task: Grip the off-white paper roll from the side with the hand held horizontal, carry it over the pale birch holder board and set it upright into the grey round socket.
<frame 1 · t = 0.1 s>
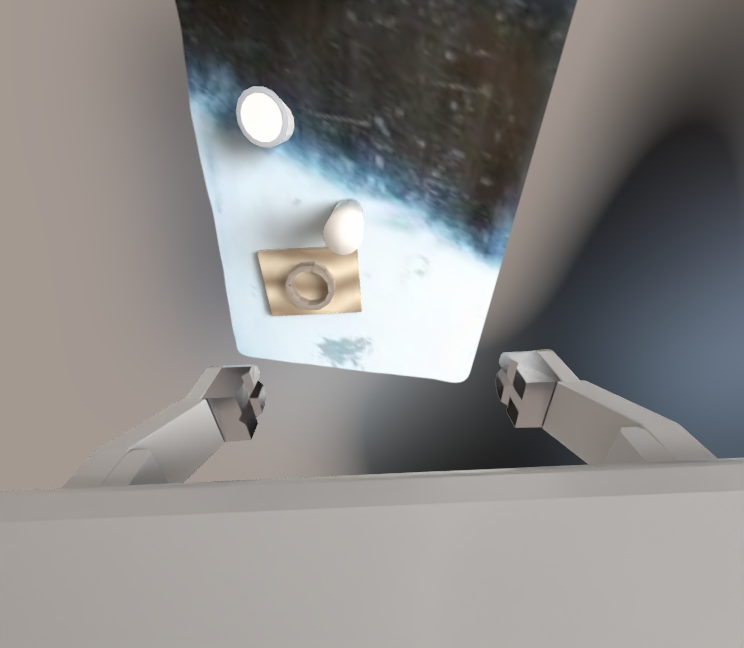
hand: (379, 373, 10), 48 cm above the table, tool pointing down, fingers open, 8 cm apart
roll holder: (313, 280, 60), on the table
paper roll: (348, 214, 54), on the table
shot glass: (276, 122, 47), on the table
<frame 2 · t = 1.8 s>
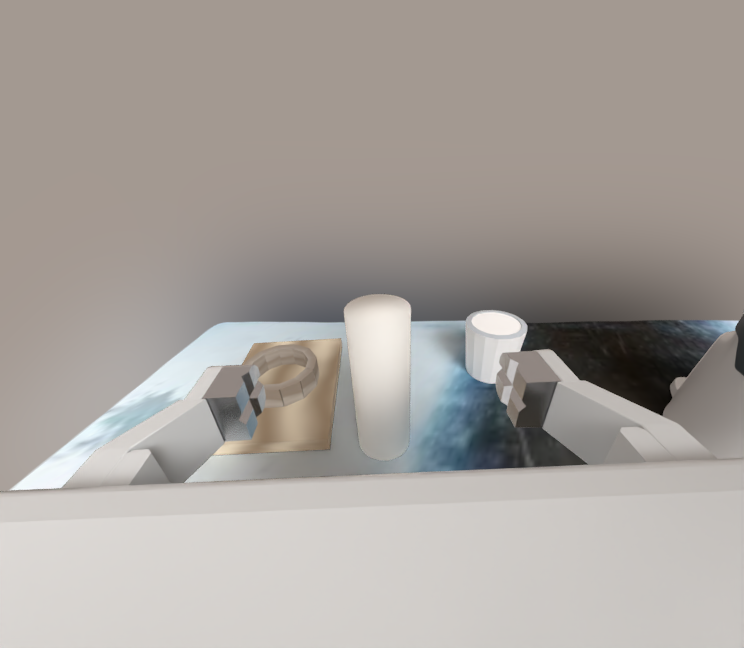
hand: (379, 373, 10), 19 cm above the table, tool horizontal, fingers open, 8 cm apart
roll holder: (285, 390, 39), on the table
paper roll: (384, 438, 31), on the table
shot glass: (487, 370, 40), on the table
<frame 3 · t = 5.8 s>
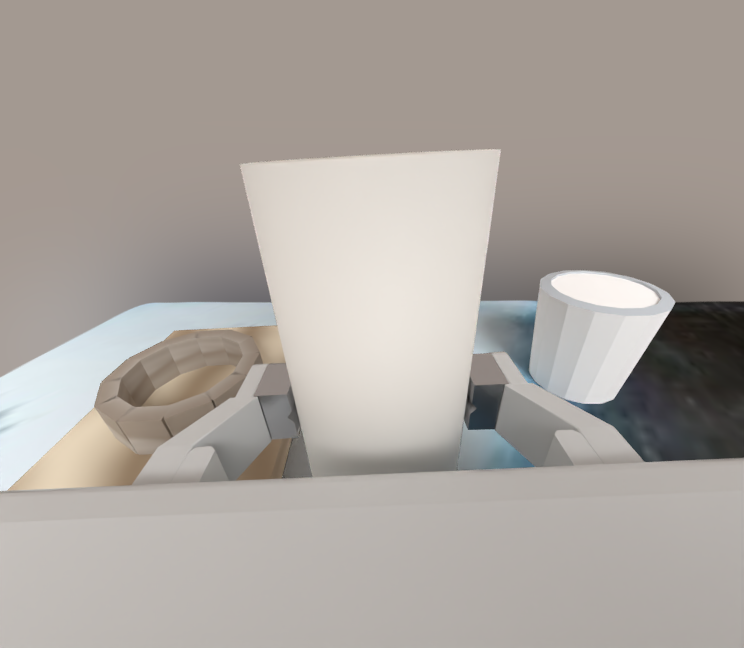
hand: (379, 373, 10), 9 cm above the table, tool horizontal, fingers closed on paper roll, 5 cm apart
roll holder: (205, 413, 21), on the table
paper roll: (387, 533, 14), on the table, touching gripper
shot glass: (570, 378, 22), on the table
when the fingers open (11 cm above the table, at t = 10.3 s): paper roll stays where it is, resting on roll holder.
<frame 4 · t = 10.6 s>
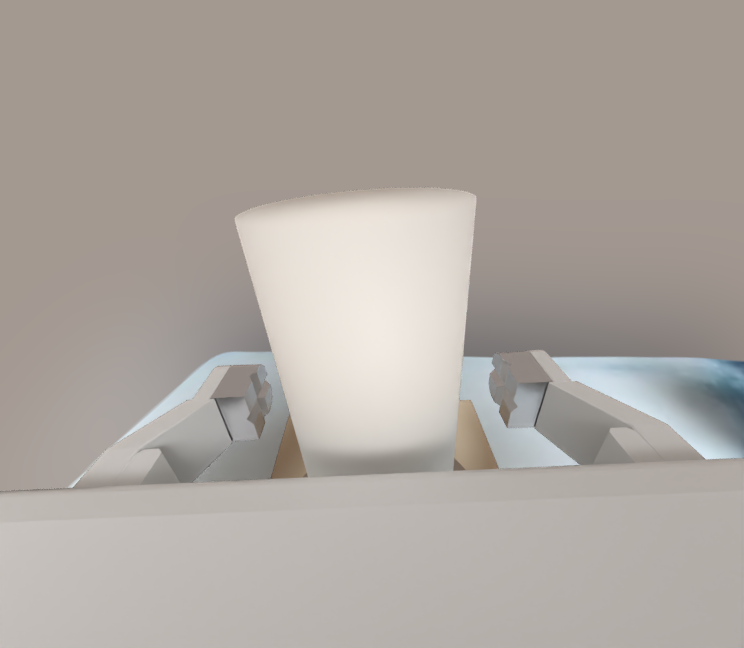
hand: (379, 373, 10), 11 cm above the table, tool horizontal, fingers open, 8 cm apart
roll holder: (388, 559, 15), on the table
paper roll: (388, 544, 14), point 2 cm above the table, touching roll holder
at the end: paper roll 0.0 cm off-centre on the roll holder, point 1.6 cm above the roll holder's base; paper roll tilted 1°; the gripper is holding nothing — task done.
